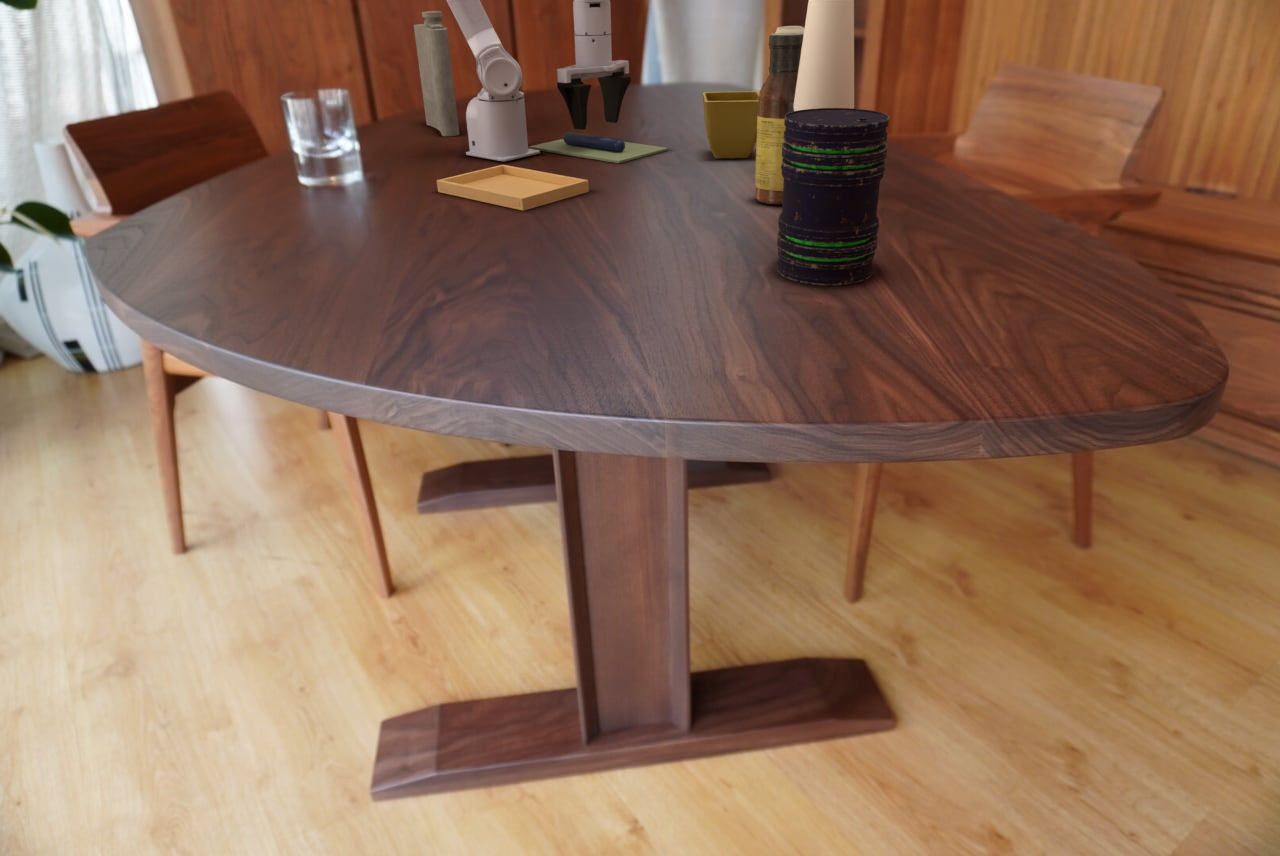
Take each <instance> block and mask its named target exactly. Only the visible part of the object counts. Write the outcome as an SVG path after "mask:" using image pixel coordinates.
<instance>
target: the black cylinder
mask: <svg viewBox="0 0 1280 856" xmlns="http://www.w3.org/2000/svg"><path fill="white" fill-rule="evenodd" d="M889 124H890V115H888V114H886V113H884V112H881V111H876V110H870V109H863V108H862V109H861V108H854V109H851V108H818V109H806V110H799V111H794V112H790V113H788V114H786V115H785V121H784V125H785V126H786V130H785V131H784V143H783V144H782V157H783V159H782V166H781V169H782V176H783V178H784V186H783V205H781V206H782V207H781V208H782V209H781V213H780V214H779V216H778V222H777V224H778V231H777V237H776V240H777V241H776V245H777V247H778V248H777V255H778V260H777V263H776V271H777V273H778V274H779V275H780V276H782V277H783V278H785V279H788V280H791V281H793V282H797V283H801V284H805V285H806V284H807V285H813V286H846V285H852V284H853V285H854V284H857V283H861V282H864V281H866V280H869V279H870V278H871V277H872V276H873V273H874V264H873V262H874V259H875V258H876V250H877V249H878V240H879V235H878V233H879V229H880V224H879V223H880V219H879V217H878V205H879V194H880V186H881V181H882V179H883V178H884V173H885V172H886V167H885V166H886V165H885V164H886V159H887V154H888V145H887V142H888V132H887V129H888V128H889Z"/></svg>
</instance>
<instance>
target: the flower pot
mask: <svg viewBox="0 0 1280 856" xmlns="http://www.w3.org/2000/svg"><path fill="white" fill-rule="evenodd" d="M759 94H760V91H753V90H751V91H749V90H748V91H746V90H745V91H705V92H703V93H702V103H703V116H704V117H703V119H704V127H705V132H706V136H707V141H708V145H709V148H710V151H711V153H712V155H713V157H714V158H715V159H718V160H722V159H748V158H749V157H750V155H751V153H752V152H753V150H754V148H755V147H756V142H757V116H758V114H759Z"/></svg>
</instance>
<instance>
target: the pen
mask: <svg viewBox="0 0 1280 856" xmlns="http://www.w3.org/2000/svg"><path fill="white" fill-rule="evenodd" d="M562 137H563V138H562V139H564V142H565V143H566V144H568V145H574V146H581V147H587V148H594V149H601V150H607V151H614V152H622V151H623V150H624V149H625V143H624V142H625V141H624V140H623V139H620V138H615V137H614V138H613V137H609V136H600V135H594V134H587V133H579V132H571V131H567V132H565V133H564V135H563V136H562Z"/></svg>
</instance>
